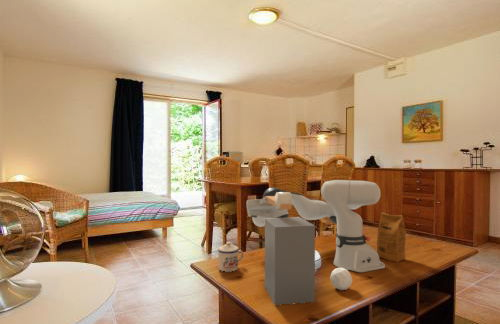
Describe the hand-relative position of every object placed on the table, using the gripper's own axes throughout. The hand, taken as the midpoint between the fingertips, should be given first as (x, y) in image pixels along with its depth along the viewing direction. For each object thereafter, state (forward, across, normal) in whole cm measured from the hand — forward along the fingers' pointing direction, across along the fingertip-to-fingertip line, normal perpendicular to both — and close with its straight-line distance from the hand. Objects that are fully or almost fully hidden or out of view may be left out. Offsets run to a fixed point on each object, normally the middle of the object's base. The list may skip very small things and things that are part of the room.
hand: (271, 198), depth 126 cm
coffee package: (-20, -62, -25) cm, 70 cm away
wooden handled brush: (+6, 0, -5) cm, 8 cm away
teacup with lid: (-21, +17, -24) cm, 36 cm away
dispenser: (+4, 0, -39) cm, 39 cm away
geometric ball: (+3, -21, -38) cm, 44 cm away
